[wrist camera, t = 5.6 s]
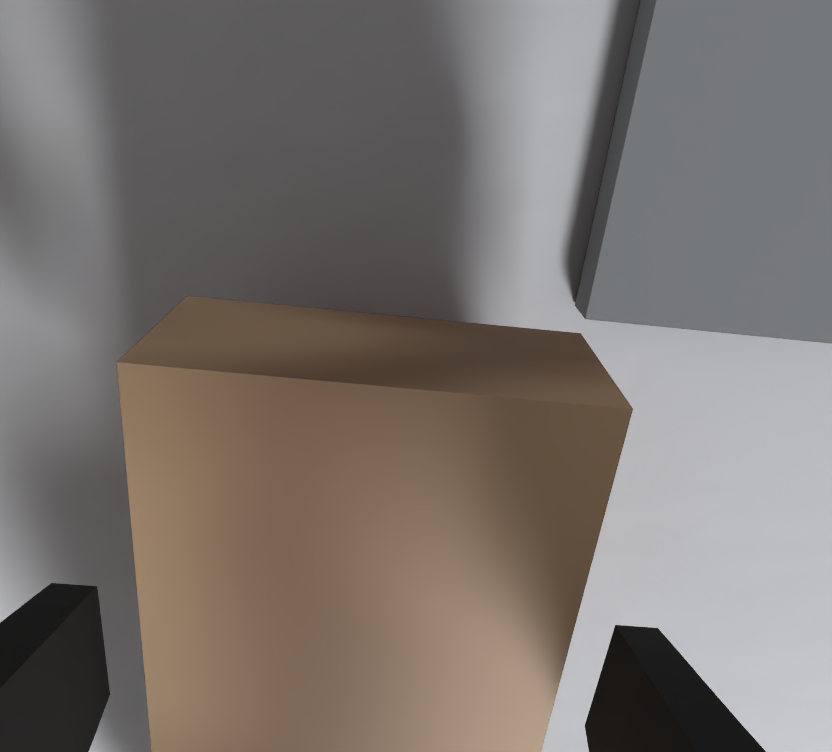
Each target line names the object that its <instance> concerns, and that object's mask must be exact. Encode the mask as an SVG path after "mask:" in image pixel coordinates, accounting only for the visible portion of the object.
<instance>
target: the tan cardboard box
mask: <svg viewBox="0 0 832 752" xmlns="http://www.w3.org/2000/svg"><path fill="white" fill-rule="evenodd" d="M117 373H118V384H119V395H120V406H121V418H122V429H123V440H124V451H125V462H126V473H127V485H128V496H129V507H130V518H131V529H132V540H133V552H134V563H135V574H136V585H137V596H138V607H139V619H140V630H141V641H142V652H143V663H144V674H145V686H146V697H147V708H148V719H149V730H150V741H151V752H541V750H542V746H543V742H544V739H545V735H546V731H547V727H548V724H549V720H550V716H551V713H552V709H553V705H554V701H555V698H556V694H557V690H558V686H559V683H560V679H561V675H562V671H563V668H564V664H565V660H566V657H567V653H568V649H569V645H570V642H571V638H572V634H573V630H574V627H575V623H576V619H577V616H578V612H579V608H580V604H581V601H582V597H583V593H584V589H585V586H586V582H587V578H588V574H589V571H590V567H591V563H592V560H593V556H594V552H595V548H596V545H597V541H598V537H599V533H600V530H601V526H602V522H603V518H604V515H605V511H606V507H607V504H608V500H609V496H610V492H611V489H612V485H613V481H614V477H615V474H616V470H617V466H618V463H619V459H620V455H621V451H622V448H623V444H624V440H625V436H626V433H627V429H628V425H629V421H630V418H631V414H632V410H633V408H632V407H631V405H630V404H629V403H628V401H627V400H626V398H625V397H624V395H623V394H622V392H621V391H620V390H619V388H618V387H617V385H616V384H615V382H614V381H613V379H612V378H611V377H610V375H609V374H608V372H607V371H606V369H605V368H604V367H603V365H602V364H601V362H600V361H599V359H598V358H597V356H596V355H595V354H594V352H593V351H592V349H591V348H590V346H589V345H588V343H587V342H586V341H585V339H584V338H583V336H582V335H581V333H570V332H560V331H550V330H539V329H529V328H518V327H508V326H497V325H487V324H477V323H466V322H456V321H445V320H435V319H424V318H414V317H404V316H393V315H383V314H372V313H362V312H351V311H341V310H331V309H320V308H310V307H299V306H289V305H278V304H268V303H258V302H247V301H237V300H226V299H216V298H206V297H195V296H186V297H185V298H184V299H183V300H182V301H181V302H180V303H179V304H178V305H177V306H176V307H175V308H174V309H173V310H171V311H170V312H169V313H168V314H167V315H166V316H165V317H164V318H163V319H162V320H161V321H160V322H159V323H158V324H157V325H156V326H154V327H153V328H152V329H151V330H150V331H149V332H148V333H147V334H146V335H145V336H144V337H143V338H142V339H141V340H140V341H139V342H138V343H136V344H135V345H134V346H133V347H132V348H131V349H130V350H129V351H128V352H127V353H126V354H125V355H124V356H123V357H122V358H121V359H119V360H118V361H117Z"/></svg>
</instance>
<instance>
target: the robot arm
mask: <svg viewBox="0 0 832 752" xmlns="http://www.w3.org/2000/svg"><path fill="white" fill-rule="evenodd" d="M109 695H110V691H109V683H108V674H107V666H106V657H105V649H104V640H103V632H102V624H101V615H100V607H99V598H98V590H97V587H96V586H83V585H69V584H56V583H51V584H50V585H48V586H47V587H46V588H45V589H43V590H42V591H41V592H39V593H38V594H37V595H35V596H34V597H33V598H32V599H30V600H29V601H28V602H26V603H25V604H24V605H22V606H21V607H20V608H19V609H17V610H16V611H15V612H14V613H12V614H11V615H10V616H8V617H7V618H6V619H5V620H3V621H2V622H1V623H0V752H88V751H89V749H90V746H91V744H92V741H93V739H94V736H95V733H96V731H97V728H98V725H99V722H100V720H101V717H102V714H103V712H104V709H105V706H106V703H107V701H108V698H109ZM585 729H586V735H587V741H588V747H589V752H766V751H765V750H764V749H763V748H762V747H761V746H760V745H759V744H758V743H757V741H756V740H755V739H754V738H753V737H752V736H751V735H750V734H749V732H748V731H747V730H746V729H745V728H744V727H743V726H742V725H741V723H740V722H739V721H738V720H737V719H736V718H735V717H734V715H733V714H732V713H731V712H730V711H729V710H728V709H727V707H726V706H725V705H724V704H723V703H722V702H721V700H720V699H719V698H718V697H717V696H716V695H715V694H714V692H713V691H712V690H711V689H710V688H709V687H708V686H707V684H706V683H705V682H704V681H703V680H702V679H701V677H700V676H699V675H698V674H697V673H696V672H695V670H694V669H693V668H692V667H691V666H690V665H689V663H688V662H687V661H686V660H685V659H684V658H683V657H682V655H681V654H680V653H679V652H678V651H677V650H676V648H675V647H674V646H673V645H672V644H671V643H670V642H669V640H668V639H667V638H666V637H665V636H664V635H663V634H662V633H661V631H660V630H659V629H658V628H647V627H634V626H621V625H615V628H614V632H613V635H612V638H611V642H610V645H609V648H608V651H607V655H606V658H605V661H604V665H603V668H602V671H601V674H600V678H599V681H598V684H597V688H596V691H595V694H594V698H593V701H592V704H591V707H590V711H589V714H588V717H587V721H586V724H585Z"/></svg>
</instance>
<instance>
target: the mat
mask: <svg viewBox="0 0 832 752" xmlns="http://www.w3.org/2000/svg"><path fill="white" fill-rule="evenodd" d="M575 306H576V307H577V309H578V310H579V311H580V313H581V314H582V315H583V317H584V318H585V319H590V320H600V321H610V322H620V323H630V324H640V325H650V326H661V327H671V328H681V329H691V330H701V331H711V332H721V333H731V334H741V335H751V336H762V337H772V338H782V339H792V340H802V341H812V342H822V343H832V0H640V4H639V9H638V13H637V18H636V23H635V27H634V32H633V37H632V41H631V46H630V51H629V55H628V60H627V65H626V69H625V74H624V79H623V83H622V88H621V93H620V97H619V102H618V107H617V111H616V116H615V121H614V125H613V130H612V135H611V139H610V144H609V149H608V153H607V158H606V163H605V167H604V172H603V177H602V181H601V186H600V191H599V195H598V200H597V205H596V209H595V214H594V219H593V223H592V228H591V233H590V237H589V242H588V247H587V251H586V256H585V261H584V265H583V270H582V275H581V279H580V284H579V289H578V293H577V298H576V303H575Z"/></svg>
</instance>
